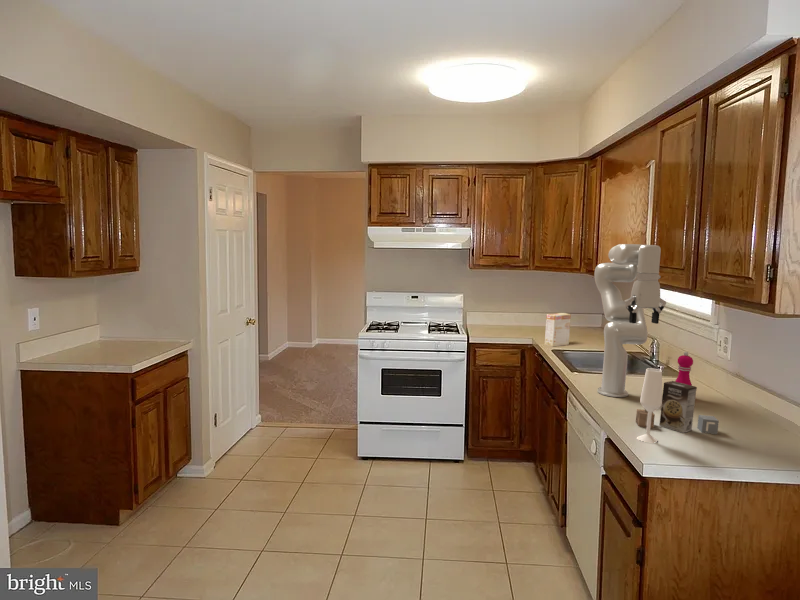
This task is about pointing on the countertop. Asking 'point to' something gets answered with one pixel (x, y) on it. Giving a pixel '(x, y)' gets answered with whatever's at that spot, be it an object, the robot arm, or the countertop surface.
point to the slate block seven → (708, 424)
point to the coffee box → (677, 406)
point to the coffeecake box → (557, 329)
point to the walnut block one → (644, 418)
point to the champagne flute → (651, 398)
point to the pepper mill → (684, 369)
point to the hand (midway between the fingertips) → (643, 323)
